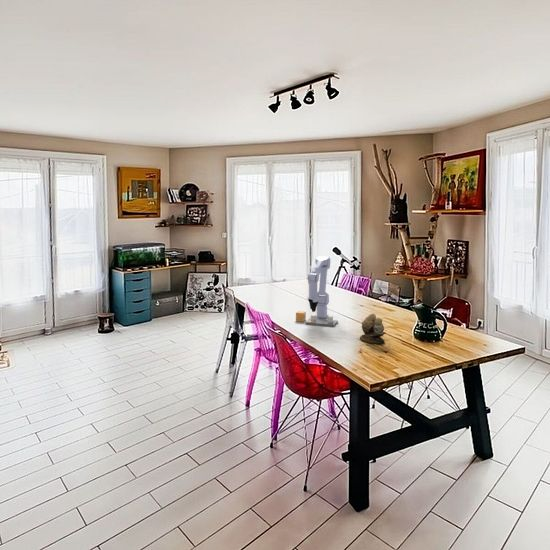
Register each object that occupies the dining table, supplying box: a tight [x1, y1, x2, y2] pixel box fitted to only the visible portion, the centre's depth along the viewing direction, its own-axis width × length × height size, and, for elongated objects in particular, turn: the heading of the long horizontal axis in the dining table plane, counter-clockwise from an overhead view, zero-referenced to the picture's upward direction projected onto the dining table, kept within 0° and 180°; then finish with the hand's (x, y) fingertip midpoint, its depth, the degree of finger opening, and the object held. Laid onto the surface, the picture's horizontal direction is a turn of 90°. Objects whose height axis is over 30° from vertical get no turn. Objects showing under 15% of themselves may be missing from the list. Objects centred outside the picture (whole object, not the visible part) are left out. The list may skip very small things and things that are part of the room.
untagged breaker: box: [327, 315, 334, 323], centre depth 299 cm, size 3×3×4 cm
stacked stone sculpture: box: [359, 313, 386, 345], centre depth 260 cm, size 18×12×17 cm, turn 34°
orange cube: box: [295, 310, 307, 323], centre depth 309 cm, size 6×6×6 cm
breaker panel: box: [304, 317, 339, 328], centre depth 301 cm, size 12×20×2 cm, turn 70°
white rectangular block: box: [310, 313, 317, 321], centre depth 303 cm, size 3×3×4 cm
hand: (312, 310), depth 299 cm, fingers open, 7 cm apart
